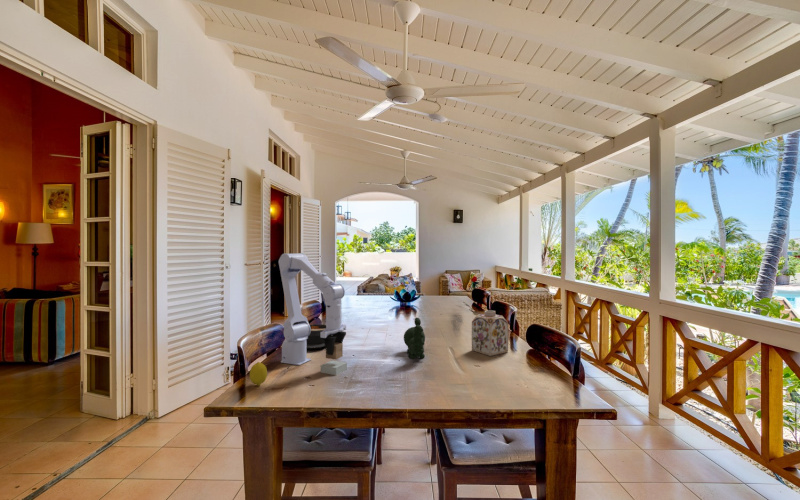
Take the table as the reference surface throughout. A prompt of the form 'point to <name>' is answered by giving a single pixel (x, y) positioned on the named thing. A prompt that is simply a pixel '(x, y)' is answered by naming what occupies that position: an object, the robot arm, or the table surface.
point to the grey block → (333, 367)
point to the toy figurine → (415, 340)
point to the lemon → (258, 373)
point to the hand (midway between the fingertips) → (333, 352)
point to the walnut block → (336, 351)
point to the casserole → (315, 336)
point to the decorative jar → (490, 334)
